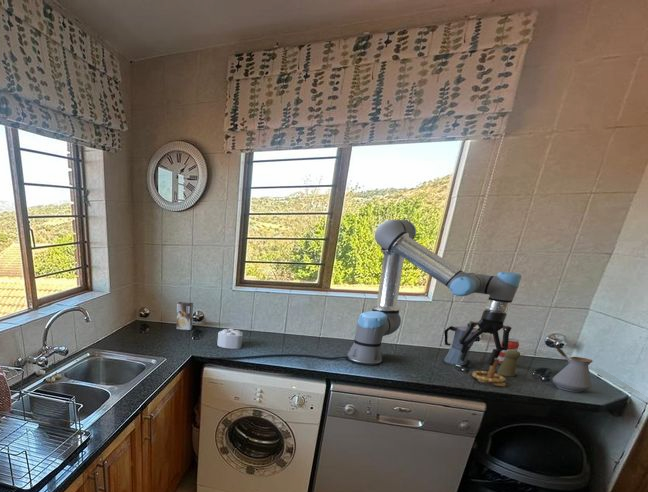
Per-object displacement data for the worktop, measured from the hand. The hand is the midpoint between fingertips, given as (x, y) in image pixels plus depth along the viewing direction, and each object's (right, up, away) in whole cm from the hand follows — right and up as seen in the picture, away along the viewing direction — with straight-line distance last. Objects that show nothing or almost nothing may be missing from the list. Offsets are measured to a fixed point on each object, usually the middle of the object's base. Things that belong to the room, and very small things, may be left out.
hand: (475, 362), depth 173 cm
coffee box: (-119, +23, +79) cm, 145 cm away
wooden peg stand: (+6, -8, 0) cm, 10 cm away
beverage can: (+31, 0, +22) cm, 38 cm away
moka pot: (+7, 0, +21) cm, 22 cm away
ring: (+5, -6, 0) cm, 8 cm away
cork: (+21, -5, +9) cm, 23 cm away
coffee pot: (+34, -10, -2) cm, 36 cm away
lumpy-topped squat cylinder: (-97, +10, +46) cm, 108 cm away
